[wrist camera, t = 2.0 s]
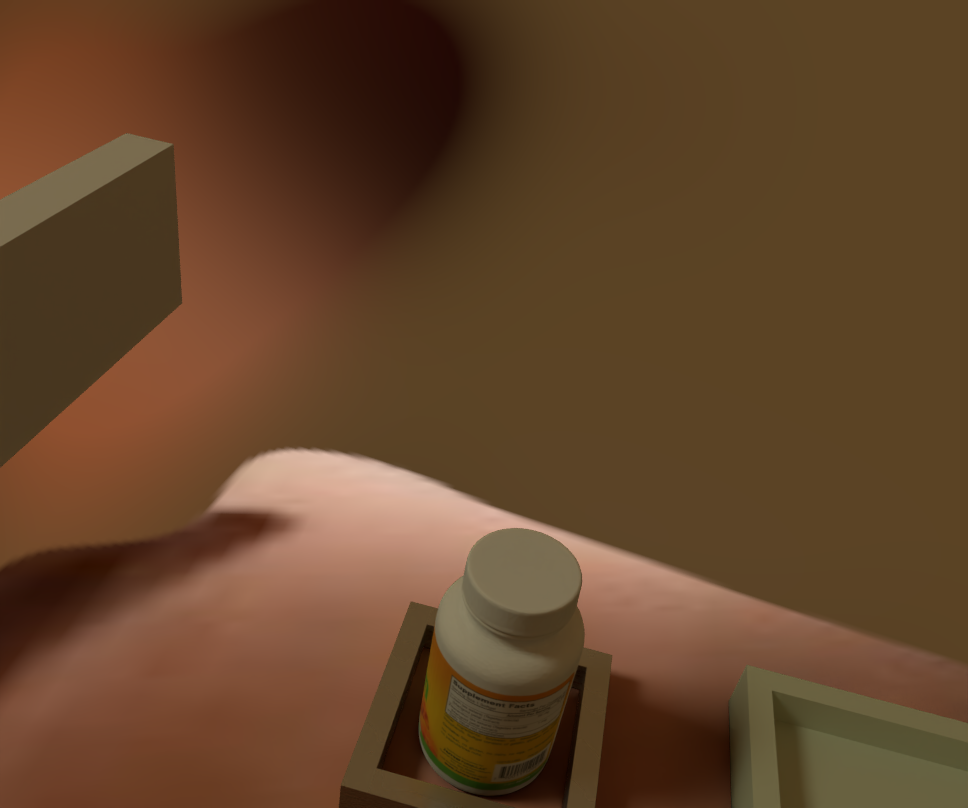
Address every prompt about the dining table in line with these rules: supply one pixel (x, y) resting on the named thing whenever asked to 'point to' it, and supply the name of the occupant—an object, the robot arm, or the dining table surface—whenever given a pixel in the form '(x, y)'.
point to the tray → (839, 749)
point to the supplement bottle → (502, 662)
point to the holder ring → (416, 804)
